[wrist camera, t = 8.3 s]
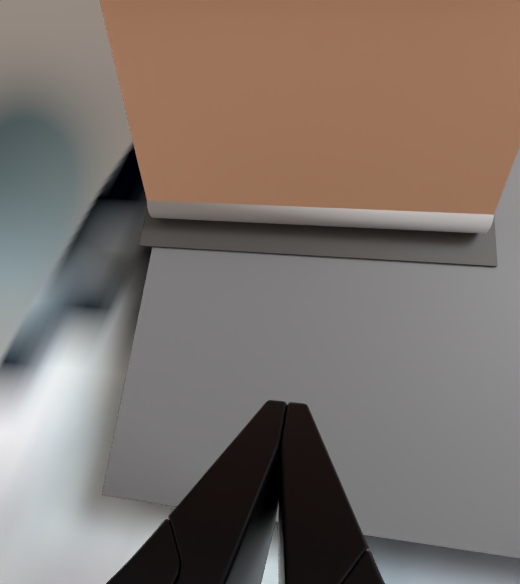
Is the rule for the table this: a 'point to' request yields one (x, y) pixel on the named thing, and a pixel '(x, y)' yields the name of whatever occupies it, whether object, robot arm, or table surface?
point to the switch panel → (337, 366)
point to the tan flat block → (321, 109)
